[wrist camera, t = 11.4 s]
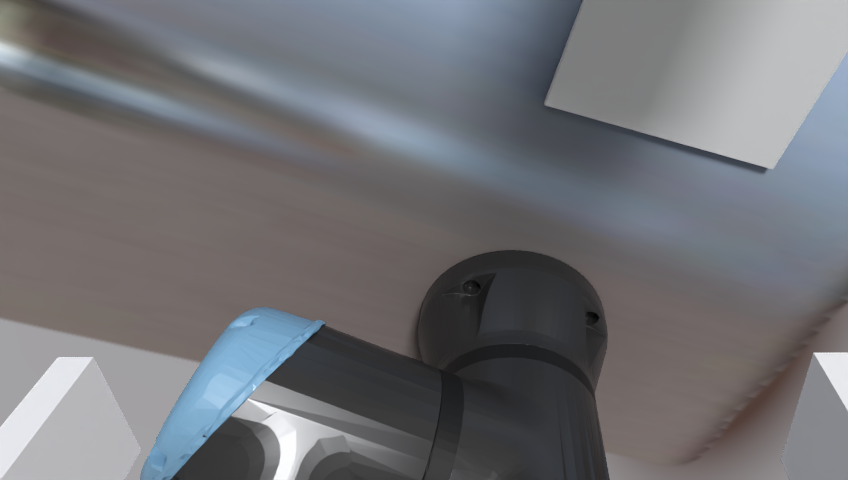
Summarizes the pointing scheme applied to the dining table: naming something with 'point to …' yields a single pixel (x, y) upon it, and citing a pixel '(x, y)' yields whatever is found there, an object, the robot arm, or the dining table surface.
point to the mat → (703, 69)
